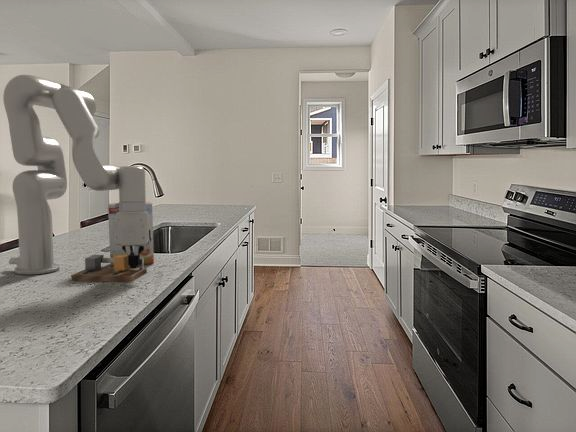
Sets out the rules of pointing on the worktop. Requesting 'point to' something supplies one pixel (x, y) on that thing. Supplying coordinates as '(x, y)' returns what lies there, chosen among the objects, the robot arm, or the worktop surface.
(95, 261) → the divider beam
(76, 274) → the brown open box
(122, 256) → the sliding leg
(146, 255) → the cracker box
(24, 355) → the worktop surface
